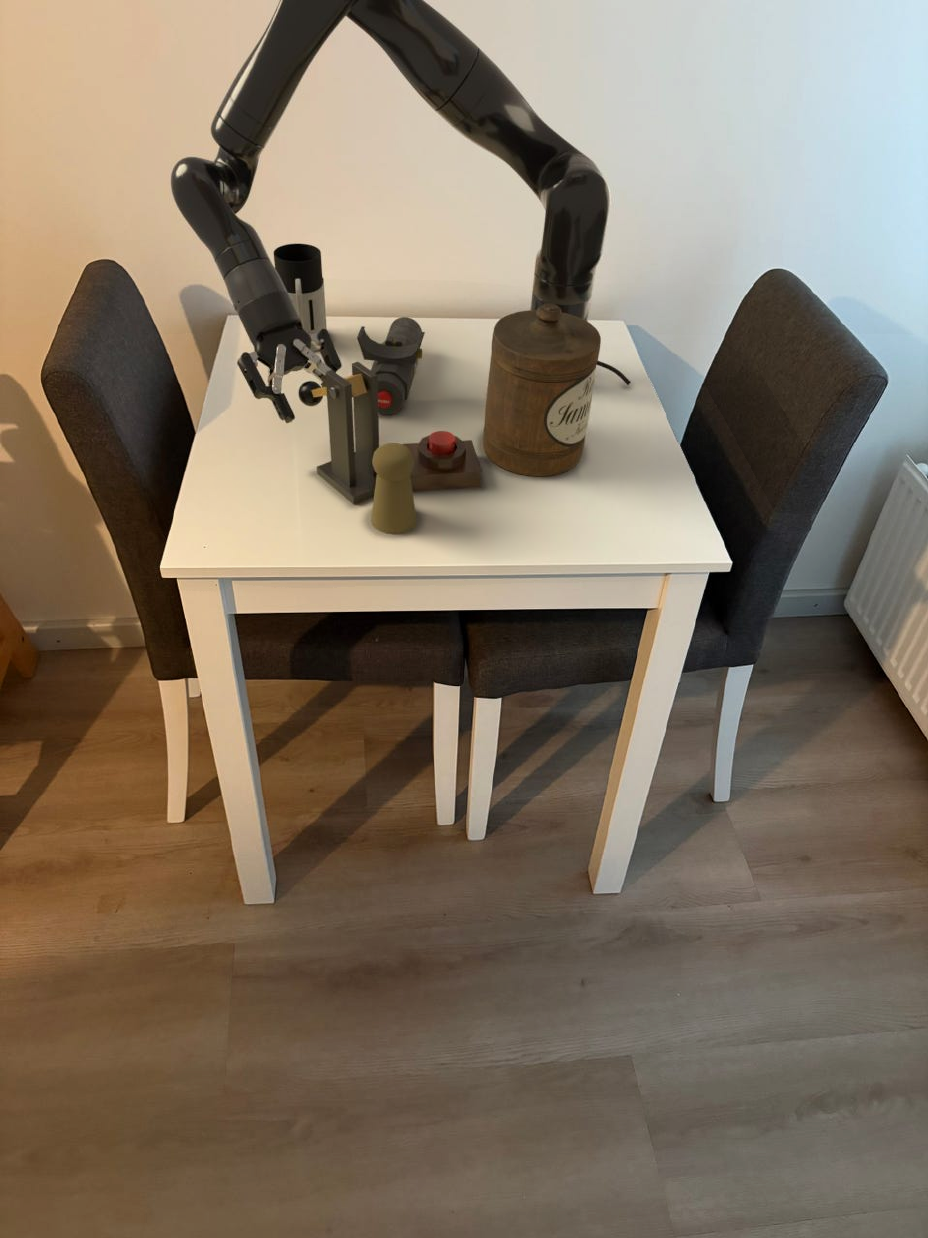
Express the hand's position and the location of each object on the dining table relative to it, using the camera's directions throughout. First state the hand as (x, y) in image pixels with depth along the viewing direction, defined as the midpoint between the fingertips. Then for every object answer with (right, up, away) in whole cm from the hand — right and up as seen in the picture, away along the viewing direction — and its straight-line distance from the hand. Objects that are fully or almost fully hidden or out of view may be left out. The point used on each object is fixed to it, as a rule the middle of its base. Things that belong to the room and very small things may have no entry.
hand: (314, 412), depth 125 cm
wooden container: (+31, -4, +7) cm, 32 cm away
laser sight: (+10, +9, +19) cm, 23 cm away
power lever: (+4, 0, -6) cm, 7 cm away
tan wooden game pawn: (+12, -16, -7) cm, 21 cm away
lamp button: (+18, -5, -2) cm, 19 cm away
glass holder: (-6, +17, +26) cm, 31 cm away
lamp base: (+18, -8, +1) cm, 20 cm away
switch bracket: (+6, -10, -1) cm, 12 cm away
